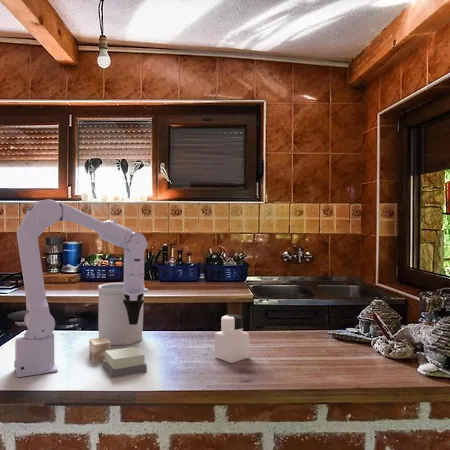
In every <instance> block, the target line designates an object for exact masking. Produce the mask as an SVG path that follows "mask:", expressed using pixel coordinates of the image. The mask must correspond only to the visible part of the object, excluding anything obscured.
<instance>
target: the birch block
mask: <svg viewBox="0 0 450 450" xmlns="http://www.w3.org/2000/svg"><path fill="white" fill-rule="evenodd" d="M88 340H89V344H88V348H89V351H88V354H89V358H90V359H91V360H92V362H93V363H95V364H96V363H99V362H102V363H103V360H105V351H108V350H112V349H111V347H112V345H111V342H110V341H109V340H108V339H106V338H105V337H104V338H99V337H96V338H90V339H88Z"/></svg>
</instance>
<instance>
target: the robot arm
mask: <svg viewBox="0 0 450 450" xmlns="http://www.w3.org/2000/svg"><path fill="white" fill-rule="evenodd" d="M57 222H72V223H75V224H77V225H79V226H82V227H85V228H87V229H89V230H92V231H94V232H96V233H97V235H98V237H99V239H100V240H103V241H105V242H108V243H110V244H112V245H114V246H116V247H119V248H122V249H123V282H124V289H123V293H125V294H124V297H125V299H123V303H124V305H125V307H126V310H127V314H128V320H129V324H130V325H137V323H138V319H139V313H140V309H141V306H142V304H143V302H144V301H145V299H144V300H141V299H142V297H143V293H144V294H145V293H148V292H149V288H145V289H144V286H145V251H146V249H147V247H148V242H147V239H146V237H145V235H144V234H142V233H140V232H135V231H134V228H132V227H126V226H124V225H122V224H119V221H118V220H116V219H112V220H111V219H107V220H105V221H102V220H100V219H99V218H98V219H97V218H95V217H93V216H92V215H90V214H88V213H85V212H84V211H81V210H80V209H78V208H75V207H73V206H71V205H69V204H67V203H66V204H65V203H62V202H57V201H56V200H54V199H50V198H47V199H44V200H43V199H42V200H37V201H36V202H35V203H33V204H32V205H31V206H29V208H28V209H27V210H26V212H25V215H24V216H23V219H22V220H21V222H20V224H19V226H18V228H17V230H16V238H17V245H18V246H17V247H18V253H19V259H20V265H21V271H22V273H21V274H22V277H23V279H22V280H23V284H24V285H23V286H24V293H25V299H26V300H25V306H26V307H25V308H26V312H25V316H24V318H23V319H24V320H23V322H24V324H25V326H26V327H27V330H26V331H25V333H24V335H23V336H21V337H17V338H15V340H14V341H15V342H14V343H15V344H14V349H15V350H14V352H15V353H14V357H15V358H14V362H13V363H14V365H13V366H14V369H15V373H16V377H17V378H24V377H29V376H35V375H43V374H48V373H53V372H58V371H59V368H58V367H57V364H56V363H55V331H54V330H55V327H56V321H55V318H54V316H53V315H52V314H51V313H50V308H49V304H48V300H47V293H46V289H45V281H44V275H43V266H42V259H41V252H40V245H39V237H40V236H41V235H42V233H44V232H45V230H46V229H47V228H49V227H51V226H52V225H54V224H56V223H57Z"/></svg>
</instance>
